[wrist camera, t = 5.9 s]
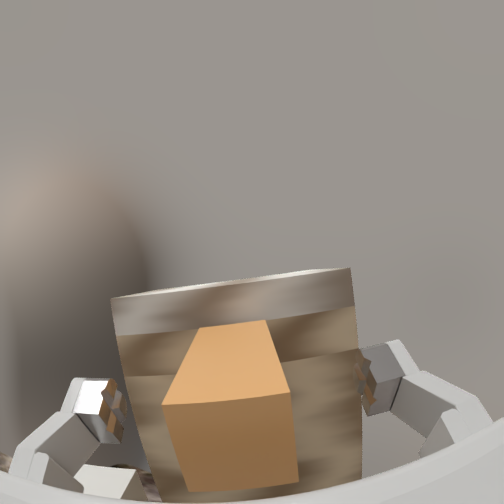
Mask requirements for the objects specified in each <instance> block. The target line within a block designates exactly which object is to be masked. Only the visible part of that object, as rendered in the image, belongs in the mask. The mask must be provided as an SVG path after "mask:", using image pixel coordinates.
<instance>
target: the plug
mask: <svg viewBox="0 0 504 504" xmlns="http://www.w3.org/2000/svg"><path fill="white" fill-rule="evenodd" d="M161 406H162V409H163V413H164V417H165V420H166V424H167V427H168V431H169V434H170V437H171V441H172V444H173V447H174V450H175V453H176V456H177V459H178V462H179V465H180V468H181V471H182V474H183V477H184V480H185V483H186V486H187V488H188V491H189V492H211V491H230V490H243V489H253V488H262V487H270V486H277V485H284V484H290V483H296V482H299V476H298V465H297V454H296V443H295V433H294V423H293V413H292V404H291V394H290V390H289V387H288V384H287V381H286V378H285V375H284V373H283V370H282V367H281V364H280V361H279V358H278V355H277V352H276V350H275V347H274V344H273V341H272V338H271V335H270V332H269V329H268V326H267V323H266V320H259V321H252V322H244V323H237V324H229V325H220V326H212V327H203V328H199V330H198V332H197V334H196V336H195V338H194V340H193V342H192V344H191V346H190V348H189V350H188V352H187V354H186V356H185V358H184V360H183V362H182V364H181V366H180V368H179V370H178V372H177V374H176V376H175V378H174V380H173V382H172V384H171V386H170V388H169V390H168V392H167V394H166V396H165V398H164V400H163V402H162V404H161Z"/></svg>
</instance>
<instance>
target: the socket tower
mask: <svg viewBox="0 0 504 504" xmlns="http://www.w3.org/2000/svg"><path fill="white" fill-rule="evenodd" d="M110 300H111V307H112V313H113V320H114V326H115V332H116V338H117V343H118V348H119V353H120V359H121V364H122V368H123V373H124V377H125V382H126V386H127V390H128V395H129V398H130V403H131V406H132V410H133V414H134V417H135V421H136V424H137V428H138V432H139V435H140V438H141V442H142V445H143V448H144V451H145V454H146V458H147V461H148V464H149V466H150V469H151V472H152V475H153V478H154V481H155V484H156V486H157V489H158V492H159V494H160V497H161V499H162V502H163V503H222V502H238V501H249V500H259V499H267V498H275V497H282V496H288V495H294V494H300V493H305V492H310V491H315V490H320V489H325V488H329V487H333V486H337V485H341V484H345V483H349V482H353V481H356V480H360V479H362V478H361V477H362V403H361V394H359V393H358V392H357V390H356V388H355V385H354V381H353V367H354V366H355V365H356V364H357V361H356V359H355V355H356V351H357V350H358V349H359V348H358V335H357V324H356V314H355V304H354V295H353V286H352V278H351V270H350V268H335V269H317V270H305V271H298V272H291V273H284V274H277V275H270V276H262V277H255V278H247V279H240V280H232V281H224V282H217V283H209V284H201V285H193V286H184V287H176V288H168V289H160V290H154V291H149V292H144V293H139V294H133V295H128V296H123V297H117V298H112V299H110ZM259 320H266V323H267V326H268V329H269V332H270V335H271V338H272V341H273V344H274V347H275V350H276V352H277V355H278V358H279V361H280V364H281V367H282V370H283V373H284V375H285V378H286V381H287V384H288V387H289V390H290V394H291V404H292V413H293V423H294V433H295V443H296V454H297V465H298V476H299V482H296V483H290V484H284V485H277V486H270V487H262V488H253V489H243V490H230V491H211V492H189V491H188V488H187V486H186V483H185V480H184V477H183V474H182V471H181V468H180V465H179V462H178V459H177V456H176V453H175V450H174V447H173V444H172V441H171V437H170V434H169V431H168V427H167V424H166V420H165V417H164V413H163V409H162V406H161V404H162V402H163V400H164V398H165V396H166V394H167V392H168V390H169V388H170V386H171V384H172V382H173V380H174V378H175V376H176V374H177V372H178V370H179V368H180V366H181V364H182V362H183V360H184V358H185V356H186V354H187V352H188V350H189V348H190V346H191V344H192V342H193V340H194V338H195V336H196V334H197V332H198V330H199V328H203V327H212V326H220V325H229V324H237V323H244V322H252V321H259Z"/></svg>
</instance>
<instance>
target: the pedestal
mask: <svg viewBox="0 0 504 504" xmlns="http://www.w3.org/2000/svg"><path fill="white" fill-rule="evenodd" d="M74 478H75V479H76V480H77V481H78V482H80V483H81V484H82V485H83V487H84V492H83V493H84V494H90V495H95V496H102V497H108V498H116V499H124V500H133V501H144V502H149V501H148V499H147V496H146V494H145V492H144V489H143V487H142V484H141V481H140V479H139V476H138V473H137V471H136V470H132V469H120V468H110V467H101V466H93V465H86V464H84V465H83V466H82V467H81V469H80V470H79V471H78V472H77V473H76V475H75V476H74Z"/></svg>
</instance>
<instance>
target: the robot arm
mask: <svg viewBox="0 0 504 504" xmlns="http://www.w3.org/2000/svg"><path fill="white" fill-rule="evenodd" d="M355 359H356V361H357V364H356V365H355V366H354V367H353V381H354V385H355V388H356V390H357V392H358V393H359V394H361V395H363V397H362V401H361V403H362V405H363V407H364V410H365V412H366V414H367V416H372V415H376V414H379V413H384V412H387V411H390V412H391V413H393V414H394V415H395V416H397V417H398V418H399V419H401V420H402V421H403V422H405V423H406V424H408V425H409V426H410V427H411V428H413V429H414V430H416V431H417V432H418V433H420V434H421V435H423V436H424V437H425V438H427V439H426V441H425V443H424V444H423V446H422V447H421V449H420V451H419V455H420V458H421V459H418V460H416V461H413V462H411V463H408V464H405V465H403V466H400V467H397V468H395V469H392V470H389V471H386V472H383V473H380V474H376V475H373V476H370V477H367V478H364V479H360V480H356V481H353V482H349V483H345V484H341V485H337V486H333V487H329V488H325V489H320V490H315V491H310V492H305V493H300V494H294V495H288V496H282V497H275V498H267V499H259V500H249V501H238V502H222V503H160V502H144V501H133V500H124V499H116V498H108V497H102V496H95V495H90V494H84V493H83V492H84V487H83V485H82V484H81V483H80V482H78V481H77V480H76V479H75V478H74V476H75V475H76V473H77V472H78V471H79V470H80V469H81V467H82V466H83V465H84V463H85V462H86V461H87V460H88V459H89V457H90V456H91V455H92V454H93V452H94V451H95V450H96V449H97V447H98V446H99V445H100V443H117V444H119V443H121V440H122V435H123V430H124V428H123V426H122V425H121V423H122V422H123V421H124V420H125V419H126V414H127V404H126V401H125V398H124V396H123V394H122V393H120V392H119V391H117V390H116V389H117V384H116V382H115V381H114V379H102V378H100V379H99V378H74V379H73V380H72V382H71V384H70V387H69V390H68V392H67V395H66V397H65V400H64V402H63V405H62V408H61V411H60V412H56V413H55V414H54V415H53V416H51V417H50V418H49V419H48V420H47V421H46V422H44V423H43V424H42V425H41V426H40V427H39V428H37V429H36V430H35V431H34V432H33V433H32V434H31V435H29V436H28V437H27V438H26V439H25V440H24V441H22V442H21V443H20V444H19V445H18V446H17V448H16V451H15V454H14V457H13V460H12V463H11V466H10V469H9V472H8V473H6V472H3V471H0V504H504V417H502V418H501V419H499V420H497V421H496V422H494V423H493V421H492V420H491V418H490V416H489V415H488V413H487V412H486V410H485V408H484V407H483V406H482V404H481V402H480V401H479V399H478V398H477V396H475V395H473V394H471V393H469V392H466V391H465V390H462V389H461V388H458V387H456V386H454V385H452V384H450V383H448V382H446V381H444V380H442V379H440V378H438V377H436V376H434V375H432V374H430V373H428V372H426V371H424V370H423V371H420V370H419V368H418V367H417V365H416V364H415V362H414V361H413V359H412V358H411V356H410V354H409V353H408V351H407V350H406V348H405V347H404V346H403V344H402V342H401V341H400V340H398V339H397V340H394V341H390V342H386V343H382V344H378V345H374V346H370V347H366V348H362V349H358V350H357V351H356V355H355Z"/></svg>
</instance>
